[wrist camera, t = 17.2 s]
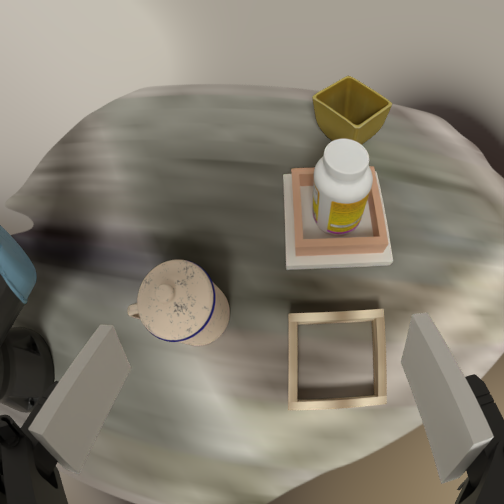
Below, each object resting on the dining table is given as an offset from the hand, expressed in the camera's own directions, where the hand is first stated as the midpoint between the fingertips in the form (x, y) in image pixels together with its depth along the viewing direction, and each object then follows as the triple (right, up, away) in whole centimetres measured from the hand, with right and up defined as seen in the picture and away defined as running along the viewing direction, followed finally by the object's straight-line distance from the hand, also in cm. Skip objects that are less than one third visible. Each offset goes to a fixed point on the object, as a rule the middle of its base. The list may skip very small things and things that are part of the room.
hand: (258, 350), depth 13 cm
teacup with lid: (-9, -4, +28) cm, 30 cm away
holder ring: (+10, -9, +23) cm, 27 cm away
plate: (+11, +9, +30) cm, 33 cm away
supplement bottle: (+11, +9, +28) cm, 32 cm away
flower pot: (+16, +23, +35) cm, 44 cm away
